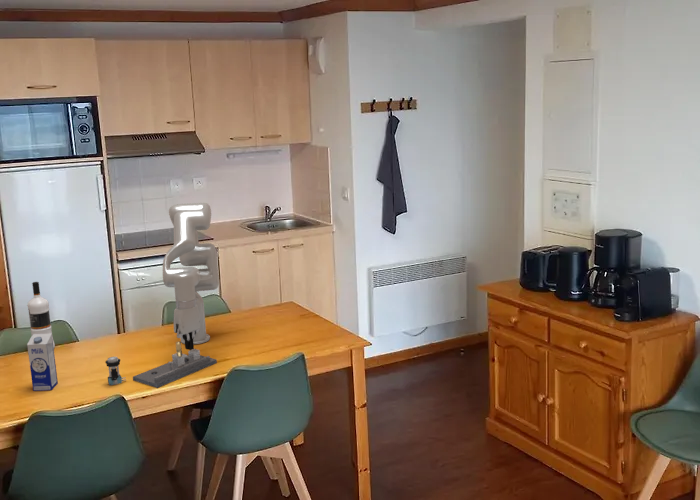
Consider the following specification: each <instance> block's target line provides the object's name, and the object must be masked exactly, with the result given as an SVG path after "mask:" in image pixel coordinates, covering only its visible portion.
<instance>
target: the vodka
mask: <svg viewBox="0 0 700 500" xmlns="http://www.w3.org/2000/svg"><path fill="white" fill-rule="evenodd" d="M31 285H32V292H33V298H31V299H30V300H29V301H28V302H27V305H26V306H27V311H28V316H29V317H28V318H29V324H30V333H31V334H30V335H31V337H32V336H33V334H52V339H53V347H54V348H55V347H56V345H55V341H54V338H53V332H52V331H53V330H52V325H51V324H52V323H51V316H50V304H49V303H50V302H49V301H48V299H47V298H44V297H42V296H41V292H40V291H41V290H40V283H39V281H33V282H32V283H31Z"/></svg>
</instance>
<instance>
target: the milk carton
mask: <svg viewBox="0 0 700 500" xmlns="http://www.w3.org/2000/svg"><path fill="white" fill-rule="evenodd" d="M52 336H53V333H52V334H33V336H32V335H31V337H30V338H29V340H28V342H27V344H26V346H27V352H28V353H27V354H28V361H29V368H30V375H31V381H32V382H31V383H32V384H31V385H32V392H43V391H44V392H45V391H53V390H54V388H55V387H57V385H58V384H59V382H58V373H57V363H56V357H55V347H53V341H54V338H53V339H52Z"/></svg>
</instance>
